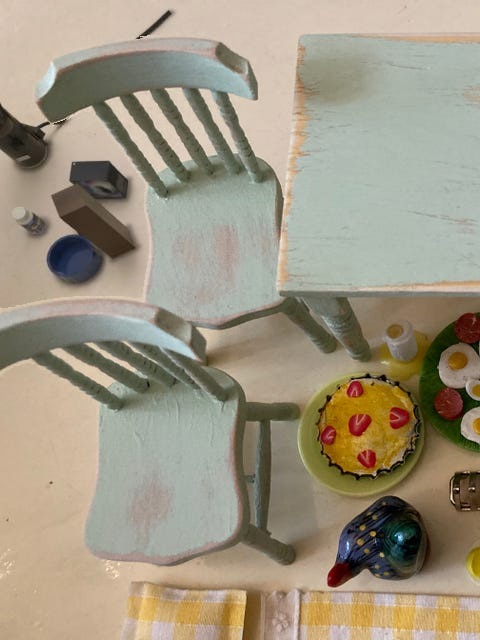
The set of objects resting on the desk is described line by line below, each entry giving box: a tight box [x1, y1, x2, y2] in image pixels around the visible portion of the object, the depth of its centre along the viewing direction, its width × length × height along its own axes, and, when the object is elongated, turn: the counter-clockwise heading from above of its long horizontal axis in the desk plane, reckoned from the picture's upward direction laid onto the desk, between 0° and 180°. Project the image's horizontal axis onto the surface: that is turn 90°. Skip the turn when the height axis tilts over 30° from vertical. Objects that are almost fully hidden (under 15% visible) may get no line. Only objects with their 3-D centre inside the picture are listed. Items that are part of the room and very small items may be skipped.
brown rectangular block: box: [50, 183, 137, 259], centre depth 180 cm, size 7×7×24 cm
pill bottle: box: [10, 205, 47, 235], centre depth 190 cm, size 5×5×8 cm
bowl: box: [46, 233, 103, 284], centre depth 188 cm, size 13×13×4 cm
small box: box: [68, 160, 129, 200], centre depth 192 cm, size 11×6×10 cm, turn 92°
